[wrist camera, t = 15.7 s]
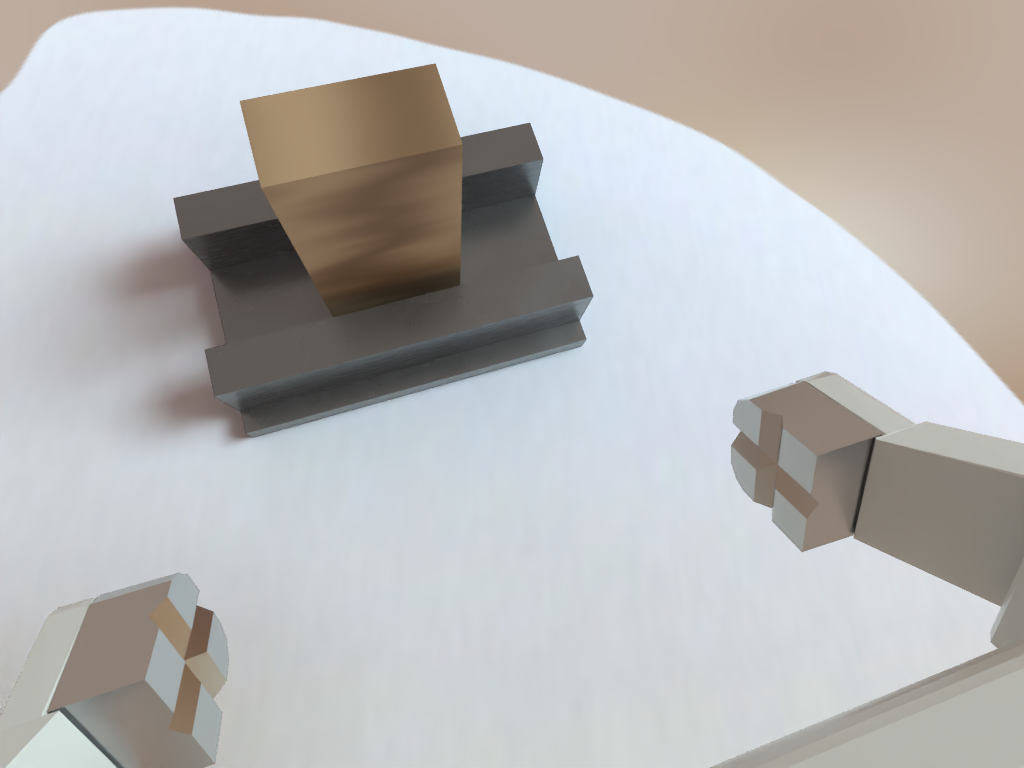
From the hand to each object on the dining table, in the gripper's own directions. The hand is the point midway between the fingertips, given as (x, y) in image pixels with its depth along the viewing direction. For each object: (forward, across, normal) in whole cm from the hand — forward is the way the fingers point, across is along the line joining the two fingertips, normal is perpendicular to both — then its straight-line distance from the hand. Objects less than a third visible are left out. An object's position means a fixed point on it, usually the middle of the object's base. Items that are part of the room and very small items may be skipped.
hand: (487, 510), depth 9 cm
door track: (+22, 0, +5) cm, 22 cm away
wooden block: (+21, 0, +4) cm, 22 cm away
